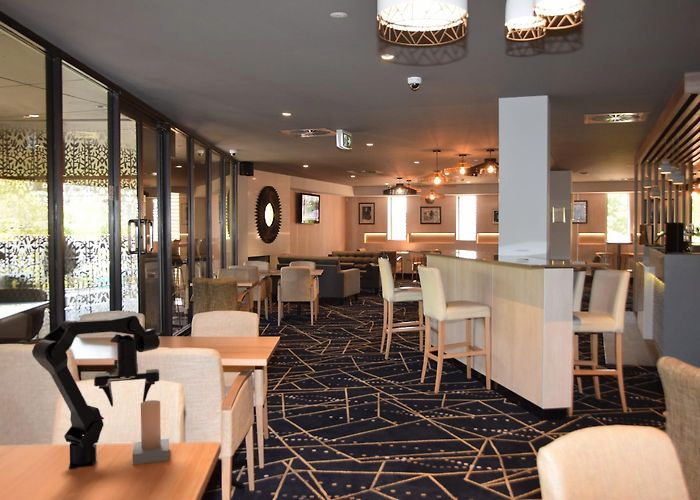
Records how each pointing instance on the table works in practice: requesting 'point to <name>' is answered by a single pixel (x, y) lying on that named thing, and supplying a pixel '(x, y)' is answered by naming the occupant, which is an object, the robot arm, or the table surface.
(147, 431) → the terracotta column
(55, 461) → the table surface
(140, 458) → the charcoal plinth
